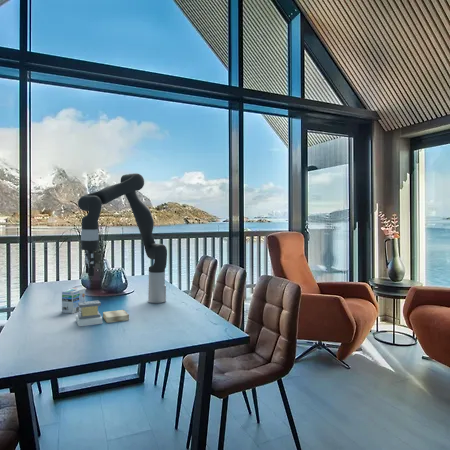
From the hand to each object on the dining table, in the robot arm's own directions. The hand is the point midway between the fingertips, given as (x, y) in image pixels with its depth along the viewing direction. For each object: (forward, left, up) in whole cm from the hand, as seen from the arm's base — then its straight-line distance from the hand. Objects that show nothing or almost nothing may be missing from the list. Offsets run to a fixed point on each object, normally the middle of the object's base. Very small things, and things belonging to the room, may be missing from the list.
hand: (89, 274), depth 162 cm
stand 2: (-12, 0, -22) cm, 25 cm away
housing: (0, 0, -19) cm, 19 cm away
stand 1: (0, 0, -22) cm, 22 cm away
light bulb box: (+4, -24, -22) cm, 33 cm away
